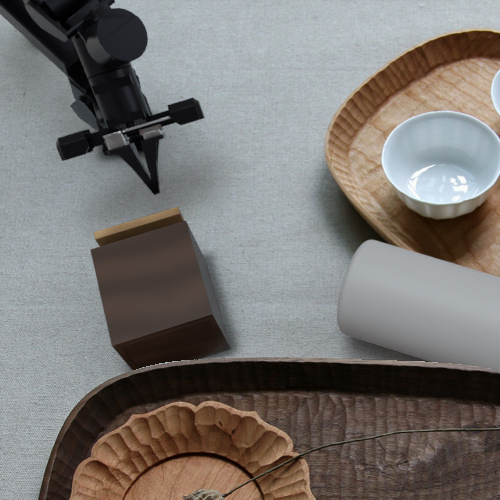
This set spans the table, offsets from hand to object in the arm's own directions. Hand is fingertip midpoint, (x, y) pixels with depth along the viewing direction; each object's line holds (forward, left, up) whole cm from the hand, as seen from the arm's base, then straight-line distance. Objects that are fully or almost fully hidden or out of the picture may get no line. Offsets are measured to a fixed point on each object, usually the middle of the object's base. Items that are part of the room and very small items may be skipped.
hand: (157, 193), depth 109 cm
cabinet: (+15, 0, -7) cm, 17 cm away
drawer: (+11, -1, -7) cm, 13 cm away
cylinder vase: (+17, +25, -1) cm, 30 cm away
